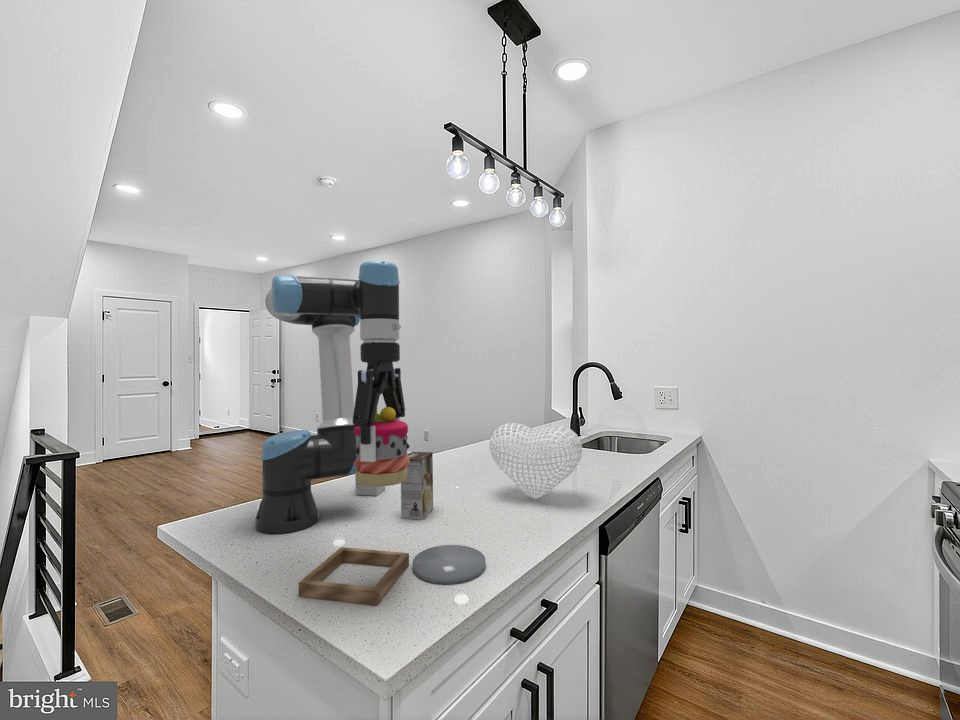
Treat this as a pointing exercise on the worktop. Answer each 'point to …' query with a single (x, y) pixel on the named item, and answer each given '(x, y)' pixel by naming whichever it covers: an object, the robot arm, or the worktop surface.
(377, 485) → the cake
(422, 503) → the coffee box
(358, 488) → the supplement box
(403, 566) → the frame
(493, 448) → the heart
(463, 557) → the plate
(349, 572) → the worktop surface
